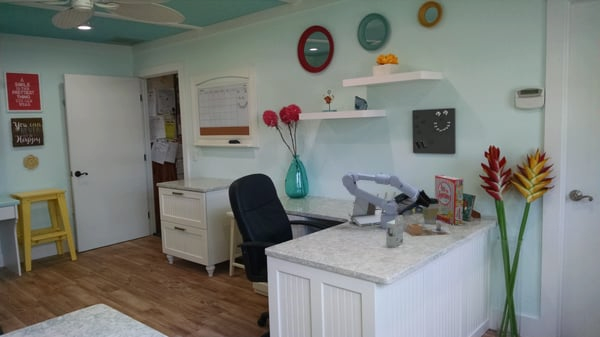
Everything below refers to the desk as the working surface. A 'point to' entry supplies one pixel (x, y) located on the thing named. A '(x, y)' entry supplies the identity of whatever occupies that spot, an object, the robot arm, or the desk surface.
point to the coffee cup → (431, 212)
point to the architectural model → (367, 212)
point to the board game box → (449, 198)
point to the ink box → (394, 232)
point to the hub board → (431, 232)
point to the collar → (415, 229)
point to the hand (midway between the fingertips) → (429, 203)
